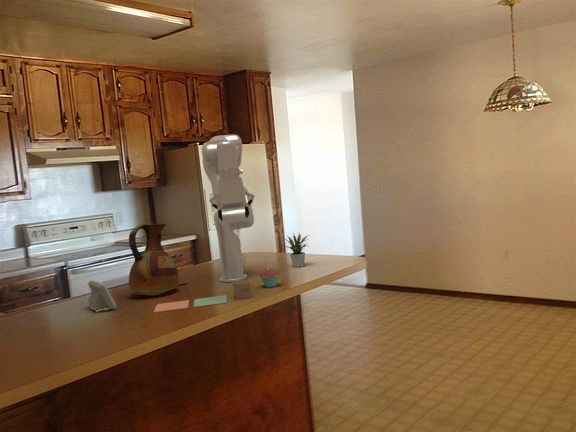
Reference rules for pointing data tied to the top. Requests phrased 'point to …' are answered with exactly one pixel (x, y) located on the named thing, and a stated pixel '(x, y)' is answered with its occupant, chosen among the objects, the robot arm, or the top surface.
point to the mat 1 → (171, 306)
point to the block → (242, 289)
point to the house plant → (297, 250)
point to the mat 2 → (210, 301)
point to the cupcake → (269, 276)
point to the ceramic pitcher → (151, 264)
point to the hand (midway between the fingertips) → (234, 219)
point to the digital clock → (100, 296)
